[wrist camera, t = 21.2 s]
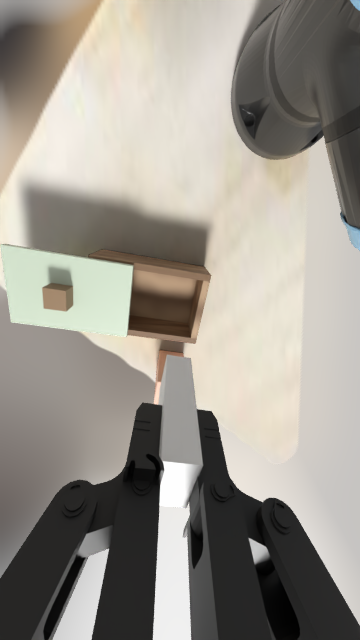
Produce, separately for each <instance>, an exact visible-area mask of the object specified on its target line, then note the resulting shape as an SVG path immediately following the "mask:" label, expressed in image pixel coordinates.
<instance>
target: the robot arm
mask: <svg viewBox="0 0 360 640" xmlns="http://www.w3.org/2000/svg"><path fill="white" fill-rule="evenodd" d="M231 107H232V115H233V119H234V123H235V126H236V129H237V131H238V134H239V136H240V137H241V139H242V140H243V142H244V143H245V145H246V146H247V147H248V148H249V149H250V150H251V151H253V152H254V153H256V154H257V155H259V156H261V157H264V158H267V159H274V160H279V159H286V158H289V157H292V156H295V155H297V154H299V153H301V152H302V151H304V150H306V149H308V148H309V147H311V146H312V145H314V144H315V143H316V142H317V141H318V140H319V139H321V138H322V137H323V136H324V138H325V144H326V148H327V152H328V157H329V161H330V165H331V169H332V174H333V178H334V182H335V186H336V191H337V195H338V199H339V203H340V207H341V213H340V215H341V219H342V222H343V223H344V224H345V225H346V228H347V231H348V235H349V238H350V241H351V243H352V244H353V246H354V247H355V248H357V249H358V250H359V251H360V0H286V1H285V2H284V3H283V4H281V5H280V6H278V7H277V8H276V9H274V10H273V11H272V12H270V13H269V14H268V15H267V16H266V17H265V18H264V19H263V20H262V21H261V23H260V24H259V25H258V26H257V28H256V29H255V30H254V32H253V33H252V35H251V37H250V38H249V40H248V42H247V44H246V46H245V48H244V50H243V52H242V55H241V57H240V59H239V62H238V64H237V67H236V70H235V74H234V78H233V83H232V92H231ZM188 503H189V506H190V516H189V519H188V521H187V524H186V526H185V529H184V533H183V537H186V536H187V537H188V560H189V589H190V615H191V640H360V625H359V624H358V622H357V620H356V619H355V617H354V615H353V613H352V612H351V610H350V608H349V607H348V605H347V603H346V601H345V600H344V598H343V596H342V594H341V593H340V591H339V589H338V587H337V586H336V584H335V582H334V581H333V579H332V577H331V576H330V574H329V572H328V570H327V569H326V567H325V565H324V563H323V562H322V560H321V558H320V557H319V555H318V553H317V551H316V550H315V548H314V546H313V544H312V543H311V541H310V539H309V537H308V536H307V534H306V532H305V531H304V529H303V527H302V526H301V524H300V522H299V520H298V519H297V517H296V515H295V514H294V513H293V511H292V510H291V509H290V507H288V506H287V505H286V504H285V503H284V502H283V501H280V500H279V499H276V498H268V499H266V500H265V501H264V502H261V501H259V500H256V499H254V498H252V497H250V496H248V495H246V494H245V493H243V492H241V491H240V490H239V489H238V488H237V487H236V486H235V484H234V483H233V481H232V480H231V479H230V477H229V474H228V470H227V465H226V461H225V456H224V451H223V447H222V442H221V437H220V433H219V427H218V422H217V419H216V418H215V416H214V415H213V413H212V411H205V410H198V409H197V408H196V400H195V391H194V382H193V373H192V365H191V358H186V357H179V356H173V355H167V357H166V361H165V366H164V371H163V375H162V380H161V385H160V390H159V402H158V405H157V404H149V403H142V404H141V405H140V407H139V408H138V409H137V411H136V416H135V422H134V427H133V432H132V437H131V442H130V447H129V452H128V457H127V462H126V465H125V467H124V469H123V470H122V472H121V473H120V474H119V475H118V476H117V477H115V478H114V479H112V480H110V481H107V482H104V483H100V484H96V485H92V484H91V483H89V482H88V481H84V480H77V481H73V482H70V483H69V484H67V485H65V486H64V487H62V489H61V490H60V491H59V492H58V493H57V494H56V495H55V497H54V498H53V500H52V501H51V503H50V504H49V506H48V507H47V509H46V510H45V512H44V513H43V515H42V516H41V518H40V519H39V521H38V522H37V524H36V525H35V527H34V529H33V530H32V531H31V533H30V534H29V536H28V537H27V539H26V541H25V542H24V543H23V545H22V546H21V548H20V549H19V551H18V553H17V554H16V556H15V557H14V559H13V560H12V562H11V563H10V565H9V566H8V568H7V569H6V571H5V572H4V574H3V575H2V577H1V578H0V640H52V639H53V636H54V634H55V632H56V630H57V627H58V625H59V623H60V620H61V618H62V616H63V613H64V611H65V609H66V607H67V604H68V602H69V600H70V598H71V595H72V593H73V591H74V589H75V586H76V584H77V582H78V579H79V577H80V575H81V573H82V570H83V568H84V566H85V563H86V561H87V559H88V557H89V556H90V555H93V554H96V553H98V552H101V551H103V550H106V549H108V548H109V553H108V558H107V564H106V569H105V573H104V579H103V584H102V589H101V595H100V599H99V604H98V609H97V615H96V620H95V625H94V630H93V635H92V640H153V622H154V602H155V581H156V563H157V562H156V561H157V542H158V522H159V506H170V507H183V508H186V507H187V505H188Z"/></svg>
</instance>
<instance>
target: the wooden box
mask: <svg viewBox="0 0 360 640" xmlns="http://www.w3.org/2000/svg"><path fill="white" fill-rule="evenodd" d="M89 258H94V259H100V260H106V261H112V262H118V263H124V264H130V265H134V271H133V282H132V293H131V304H130V315H129V326H128V335H132V336H139V337H147V338H155V339H162V340H170V341H178V342H186V343H193V344H195V343H196V339H197V335H198V330H199V326H200V322H201V317H202V313H203V309H204V304H205V300H206V296H207V291H208V287H209V283H210V278H211V275H210V273H209V272H208V271H207V269H206V268H205V267H203V266H198V265H192V264H186V263H180V262H174V261H168V260H162V259H156V258H151V257H145V256H139V255H133V254H127V253H121V252H115V251H109V250H103V249H101V250H99V251H97V252H94V253H92V254H90V255H89Z"/></svg>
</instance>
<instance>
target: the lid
mask: <svg viewBox="0 0 360 640" xmlns="http://www.w3.org/2000/svg"><path fill="white" fill-rule="evenodd" d="M0 247H1V254H2V261H3V268H4V275H5V283H6V290H7V297H8V304H9V311H10V318H11V322H13V323H21V324H28V325H36V326H44V327H52V328H59V329H67V330H75V331H83V332H90V333H98V334H106V335H114V336H122V337H127V335H128V326H129V315H130V304H131V293H132V282H133V271H134V265H130V264H124V263H118V262H112V261H106V260H100V259H94V258H88V257H82V256H76V255H70V254H64V253H57V252H51V251H45V250H39V249H33V248H27V247H21V246H15V245H9V244H1V245H0Z"/></svg>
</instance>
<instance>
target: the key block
mask: <svg viewBox="0 0 360 640" xmlns="http://www.w3.org/2000/svg"><path fill="white" fill-rule="evenodd" d="M167 355H173V356H179V357H184V356H183V353H178V352H170V351H162V350H160V352H159V358H158V365H157V372H156V383H155V396H154V404H158V402H159V390H160V385H161V380H162V375H163V371H164V366H165V361H166V357H167Z"/></svg>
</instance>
